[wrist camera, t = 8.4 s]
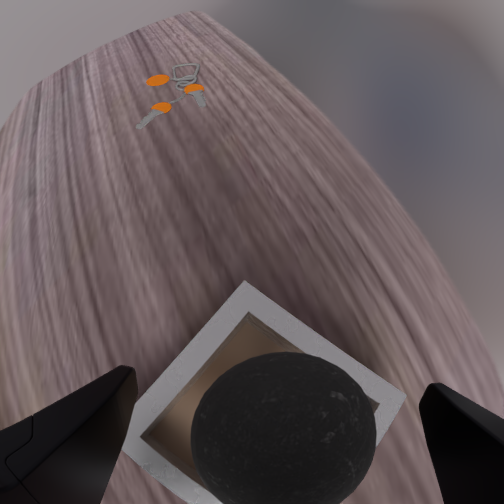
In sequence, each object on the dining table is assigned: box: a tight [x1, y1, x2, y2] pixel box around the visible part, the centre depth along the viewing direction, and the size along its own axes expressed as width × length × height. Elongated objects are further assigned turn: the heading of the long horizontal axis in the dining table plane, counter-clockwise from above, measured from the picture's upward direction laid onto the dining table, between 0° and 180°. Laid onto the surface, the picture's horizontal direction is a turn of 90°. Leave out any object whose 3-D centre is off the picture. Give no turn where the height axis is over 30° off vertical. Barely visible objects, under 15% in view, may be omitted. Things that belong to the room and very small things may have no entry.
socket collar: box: [122, 280, 407, 504], centre depth 14 cm, size 11×11×2 cm
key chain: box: [136, 63, 206, 129], centre depth 29 cm, size 13×7×1 cm, turn 6°
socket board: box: [150, 322, 287, 472], centre depth 15 cm, size 11×11×1 cm
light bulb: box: [190, 352, 377, 504], centre depth 10 cm, size 6×6×10 cm
